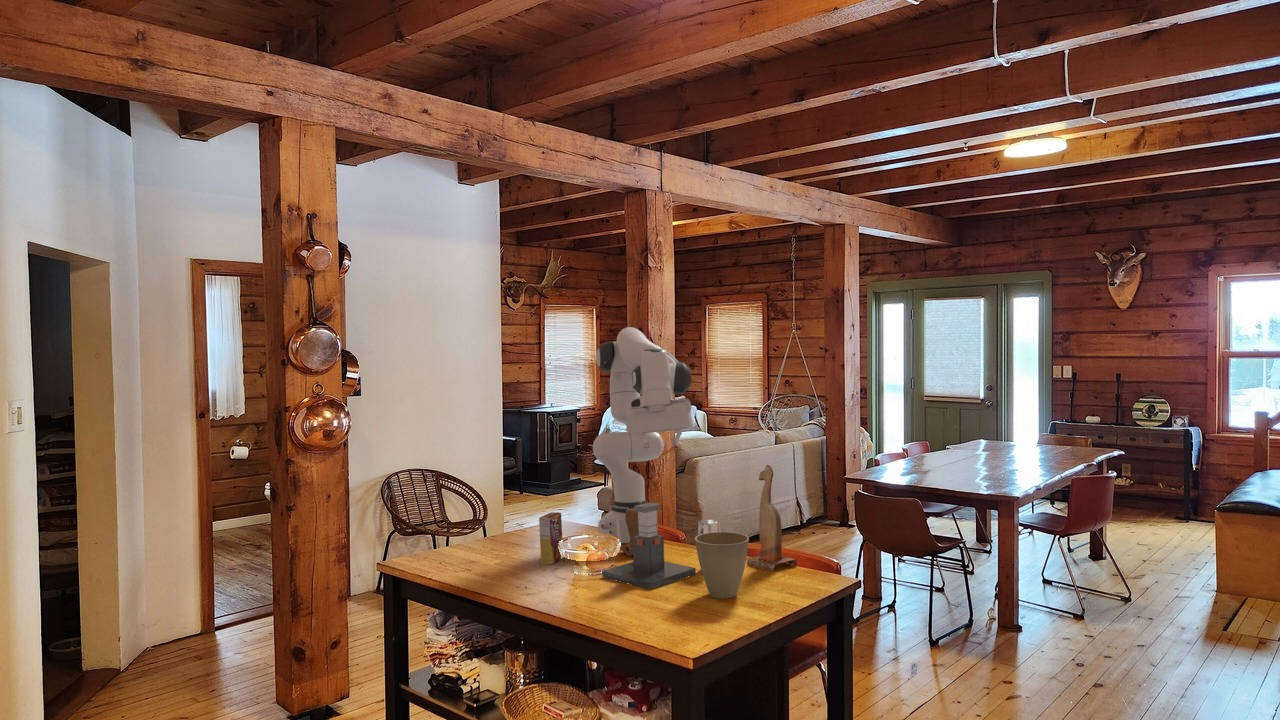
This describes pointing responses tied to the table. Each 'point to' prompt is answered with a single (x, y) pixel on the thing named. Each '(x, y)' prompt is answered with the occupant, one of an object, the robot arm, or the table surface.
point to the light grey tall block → (647, 519)
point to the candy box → (550, 537)
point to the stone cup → (631, 530)
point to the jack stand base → (648, 566)
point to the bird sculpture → (769, 529)
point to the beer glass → (708, 526)
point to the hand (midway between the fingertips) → (660, 446)
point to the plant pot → (722, 561)
